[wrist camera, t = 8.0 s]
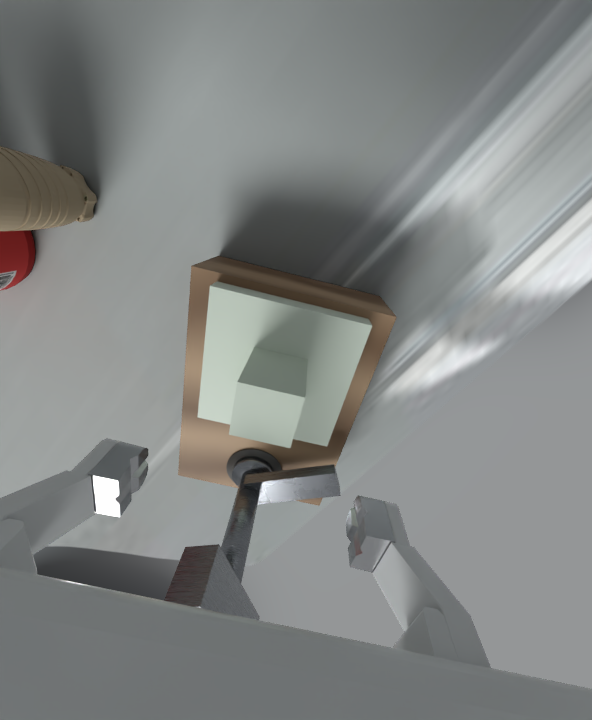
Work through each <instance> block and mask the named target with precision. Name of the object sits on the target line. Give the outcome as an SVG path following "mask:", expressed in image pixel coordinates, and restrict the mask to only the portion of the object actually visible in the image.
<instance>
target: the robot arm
mask: <svg viewBox="0 0 592 720" xmlns="http://www.w3.org/2000/svg"><path fill="white" fill-rule="evenodd" d="M147 456H148V449H147V448H144V447H140V446H136V445H132V444H128V443H125V442H121V441H116V440H112V439H108V438H106V439H104V440H102V441H101V442H100V443H99V444H98V445H97V446H96V447H95V448H94V449H93V450H92V451H91V452H90V453H89V454H88V455H87V456H86V457H85V458H84V459H83V460H82V461H81V462H80V463H79V464H78V465H77V466H76V467H75V468H74V469H73V470H72V471H64V472H62V473H59V474H57V475H55V476H52V477H50V478H47V479H45V480H43V481H40V482H38V483H35V484H33V485H31V486H28V487H26V488H24V489H21V490H19V491H16V492H14V493H12V494H9V495H7V496H4V497H2V498H0V720H592V689H590V688H585V687H580V686H575V685H570V684H565V683H561V682H555V681H550V680H546V679H541V678H536V677H531V676H526V675H521V674H517V673H512V672H507V671H502V670H497V669H493V668H491V667H490V664H489V662H488V659H487V657H486V654H485V651H484V649H483V646H482V644H481V641H480V639H479V636H478V634H477V631H476V629H475V626H474V624H473V621H472V619H471V616H470V614H469V613H468V612H467V611H466V610H465V608H464V607H463V606H462V605H461V604H460V602H459V601H458V600H457V599H456V597H455V596H454V595H453V594H452V593H451V591H450V590H449V589H448V588H447V586H446V585H445V584H444V583H443V582H442V580H441V579H440V578H439V577H438V576H437V574H436V573H435V572H434V571H433V570H432V568H431V567H430V566H429V565H428V563H427V562H426V561H425V560H424V559H423V557H422V556H421V555H420V554H419V553H418V551H417V550H416V549H415V548H414V547H412V546H410V544H409V541H408V538H407V534H406V531H405V527H404V524H403V521H402V517H401V514H400V511H399V507H398V506H397V504H395V503H390V502H385V501H382V500H377V499H372V498H368V497H363V496H357V497H356V499H355V501H354V506H355V507H354V508H352V509H351V510H350V512H349V514H348V518H347V523H346V531H347V537H348V538H349V540H350V541H351V543H350V545H349V547H348V552H349V561H350V567H352V568H356V569H360V570H364V571H368V572H372V573H373V576H374V578H375V580H376V581H377V583H378V585H379V587H380V589H381V590H382V592H383V594H384V595H385V598H386V599H387V601H388V603H389V605H390V606H391V609H392V610H393V612H394V614H395V616H396V618H397V619H398V621H399V623H400V624H401V627H402V628H403V630H404V634H403V635H402V636H401V637H400V639H399V640H398V641H397V642H396V644H395V645H394V646H393V648H390V647H386V646H381V645H376V644H371V643H366V642H360V641H356V640H352V639H346V638H342V637H337V636H332V635H327V634H322V633H318V632H313V631H308V630H303V629H298V628H293V627H289V626H284V625H279V624H274V623H270V622H264V621H260V620H255V619H250V618H245V617H241V616H236V615H231V614H226V613H221V612H216V611H212V610H207V609H202V608H197V607H192V606H187V605H182V604H178V603H173V602H168V601H163V600H158V599H153V598H148V597H144V596H139V595H134V594H128V593H124V592H119V591H114V590H110V589H105V588H100V587H95V586H90V585H85V584H80V583H76V582H71V581H66V580H61V579H56V578H51V577H46V576H41V575H37V568H36V564H35V561H34V557H33V554H35V553H37V552H38V551H40V550H41V549H43V548H44V547H46V546H47V545H49V544H50V543H52V542H53V541H55V540H56V539H58V538H60V537H61V536H63V535H64V534H66V533H67V532H69V531H70V530H72V529H73V528H75V527H76V526H78V525H79V524H81V523H82V522H84V521H85V520H87V519H88V518H90V517H92V516H93V515H95V513H99V514H105V515H110V516H116V517H120V516H121V515H122V514H123V512H124V511H125V509H126V508H127V506H128V505H129V503H130V502H131V494H132V493H134V492H136V491H138V490H139V489H140V487H141V486H142V484H143V482H144V480H145V478H146V475H147V471H148V463H147V462H146V461H145V459H146V458H147Z"/></svg>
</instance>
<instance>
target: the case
mask: <svg viewBox="0 0 592 720" xmlns="http://www.w3.org/2000/svg"><path fill="white" fill-rule="evenodd" d="M217 281H218V282H222V283H226V284H230V285H234V286H238V287H242V288H246V289H250V290H254V291H258V292H262V293H266V294H270V295H274V296H278V297H282V298H286V299H290V300H294V301H298V302H302V303H306V304H310V305H314V306H319V307H323V308H327V309H331V310H335V311H339V312H343V313H347V314H351V315H355V316H359V317H363V318H367V319H369V320H370V322H371V324H372V328H371V331H370V333H369V336H368V339H367V341H366V344H365V347H364V349H363V352H362V355H361V357H360V360H359V363H358V365H357V368H356V371H355V373H354V376H353V379H352V381H351V384H350V387H349V389H348V392H347V395H346V397H345V400H344V403H343V405H342V408H341V411H340V413H339V416H338V419H337V421H336V424H335V427H334V429H333V432H332V435H331V437H330V440H329V443H328V445H327V447H326V446H322V445H318V444H313V443H309V442H304V441H300V440H296V439H293V441H292V444H291V447H290V448H286V447H282V446H277V445H273V444H268V443H264V442H260V441H255V440H251V439H246V438H242V437H237V436H233V435H229V430H230V425H229V424H225V423H220V422H216V421H212V420H207V419H203V418H198V406H199V396H200V385H201V375H202V364H203V353H204V343H205V332H206V322H207V311H208V301H209V290H210V285H212V284H213V283H215V282H217ZM395 320H396V316H395V314H394V313H393V312H392V311H391V310H390V308H389V307H388V306H387V305H386V303H385V302H384V301H383V300H382V298H381V297H380V296H377V295H373V294H369V293H365V292H361V291H357V290H353V289H349V288H345V287H341V286H337V285H333V284H329V283H325V282H321V281H317V280H313V279H309V278H306V277H302V276H298V275H294V274H290V273H286V272H282V271H278V270H274V269H270V268H266V267H262V266H258V265H254V264H250V263H246V262H242V261H238V260H234V259H230V258H226V257H222V256H217V257H214V258H211V259H209V260H206V261H203V262H201V263H198V264H195V265H193V266H191V282H190V298H189V313H188V329H187V345H186V360H185V376H184V392H183V408H182V423H181V439H180V455H179V470H178V475H180V476H185V477H189V478H194V479H199V480H203V481H208V482H212V483H217V484H222V485H226V486H231V487H236V488H239V487H238V486H237V485H236V484H235V483H234V481H233V479H232V471H233V468H234V465H235V463H236V462H237V461H238V460H240V459H241V458H244V457H249V456H254V457H259V458H262V459H264V460H266V461H267V462H268V463H270V465H271V466H272V467H273V470H274V471H282V470H290V469H298V468H307V467H315V466H323V465H331V464H334V465H335V466H336V464H337V461H338V459H339V456H340V454H341V452H342V449H343V447H344V444H345V442H346V439H347V437H348V434H349V432H350V430H351V427H352V425H353V422H354V420H355V417H356V415H357V413H358V410H359V408H360V405H361V403H362V400H363V398H364V395H365V393H366V391H367V388H368V386H369V383H370V381H371V378H372V376H373V373H374V371H375V369H376V366H377V364H378V361H379V359H380V356H381V354H382V352H383V349H384V347H385V344H386V342H387V339H388V337H389V334H390V332H391V330H392V327H393V325H394V322H395ZM321 500H322V498H313V499H304V500H296V501H300V502H305V503H309V504H314V505H320V503H321Z"/></svg>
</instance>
